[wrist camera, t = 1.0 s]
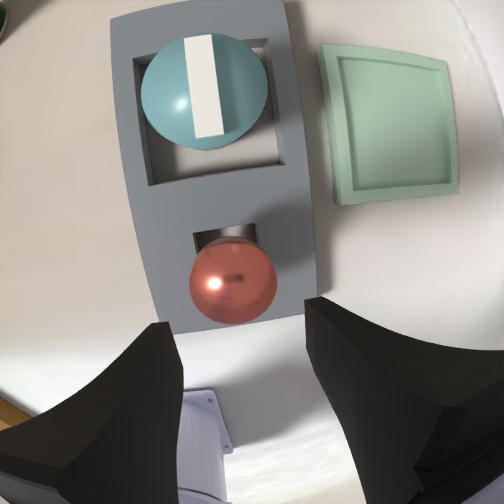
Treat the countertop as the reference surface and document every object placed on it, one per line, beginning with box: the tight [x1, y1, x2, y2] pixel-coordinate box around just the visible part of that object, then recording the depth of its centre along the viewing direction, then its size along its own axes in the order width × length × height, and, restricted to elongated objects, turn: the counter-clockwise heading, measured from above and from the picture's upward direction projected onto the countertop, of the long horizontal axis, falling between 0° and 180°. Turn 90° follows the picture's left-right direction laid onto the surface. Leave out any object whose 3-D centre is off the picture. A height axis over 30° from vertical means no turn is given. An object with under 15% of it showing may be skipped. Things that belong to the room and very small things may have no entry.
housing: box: [110, 0, 317, 335], centre depth 16 cm, size 20×10×2 cm, turn 7°
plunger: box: [189, 236, 277, 324], centre depth 15 cm, size 4×4×3 cm
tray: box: [316, 44, 458, 206], centre depth 17 cm, size 10×10×1 cm
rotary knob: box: [141, 33, 268, 151], centre depth 13 cm, size 5×5×7 cm
